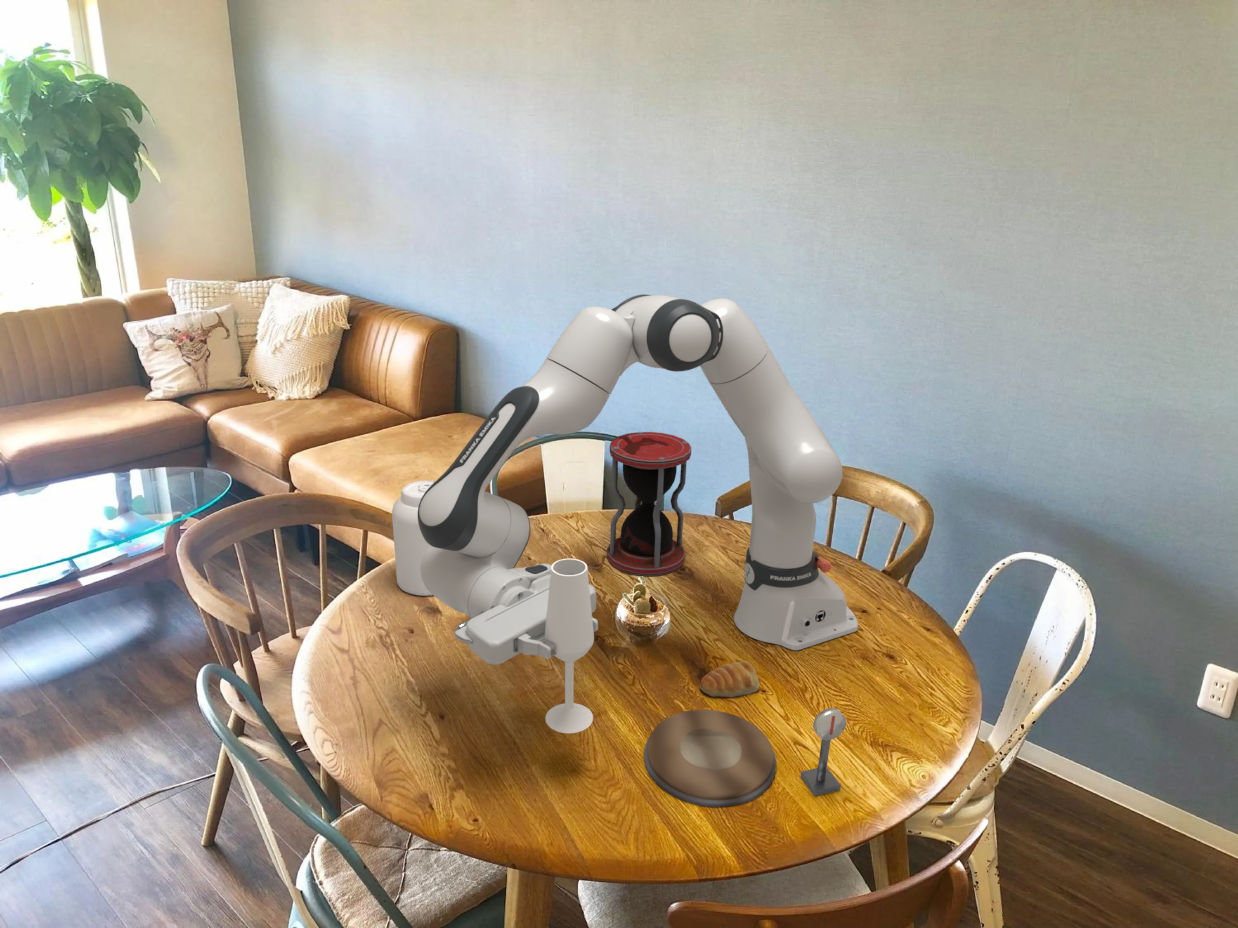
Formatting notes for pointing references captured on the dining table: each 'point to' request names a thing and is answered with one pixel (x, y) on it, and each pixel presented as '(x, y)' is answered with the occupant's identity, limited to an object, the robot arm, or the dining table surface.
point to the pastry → (730, 680)
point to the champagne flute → (569, 636)
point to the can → (410, 538)
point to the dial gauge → (824, 752)
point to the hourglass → (648, 503)
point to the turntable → (710, 758)
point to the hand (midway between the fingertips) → (574, 639)
